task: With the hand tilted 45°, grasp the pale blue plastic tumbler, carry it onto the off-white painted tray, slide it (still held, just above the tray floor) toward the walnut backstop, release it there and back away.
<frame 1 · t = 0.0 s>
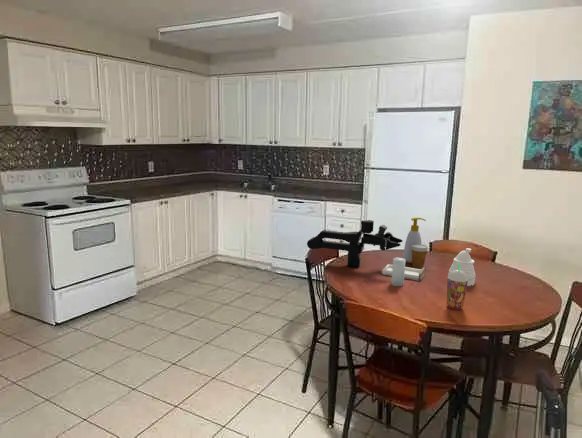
hand: (401, 242, 229), 17 cm above the table, tool horizontal, fingers open, 9 cm apart
soap bottle: (412, 261, 254), on the table
honey pot: (461, 282, 220), on the table
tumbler: (397, 284, 214), on the table
disposable coffee cup: (417, 266, 244), on the table
tray: (403, 274, 229), on the table
smoothie: (454, 308, 186), on the table
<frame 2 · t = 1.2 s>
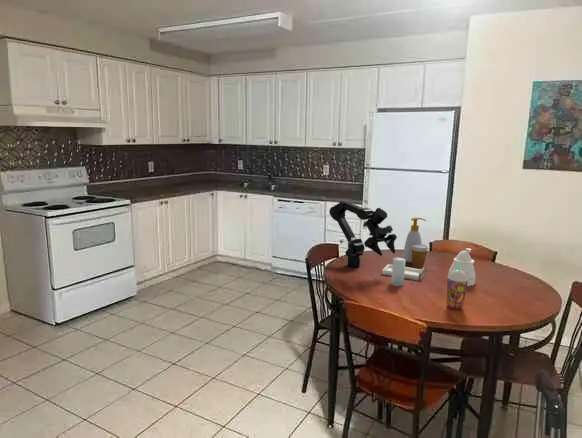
hand: (388, 254, 218), 13 cm above the table, tool tilted 45°, fingers open, 9 cm apart
nothing on the table moved.
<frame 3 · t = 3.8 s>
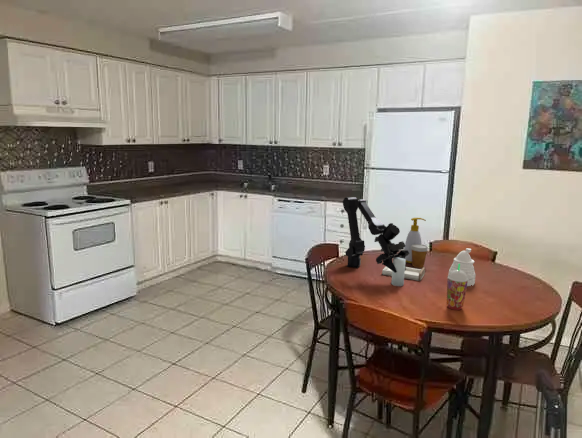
hand: (400, 271, 211), 7 cm above the table, tool tilted 45°, fingers closed on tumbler, 6 cm apart
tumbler: (397, 284, 214), on the table, touching gripper
everything else where it was.
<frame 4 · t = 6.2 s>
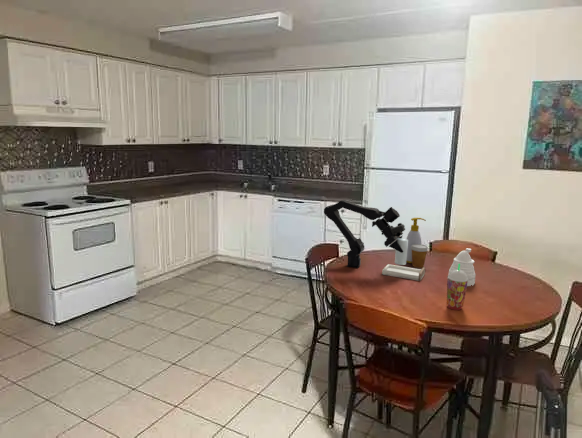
hand: (404, 250, 227), 13 cm above the table, tool tilted 45°, fingers closed on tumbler, 6 cm apart
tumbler: (400, 263, 229), point 6 cm above the table, touching gripper
everything else where it was.
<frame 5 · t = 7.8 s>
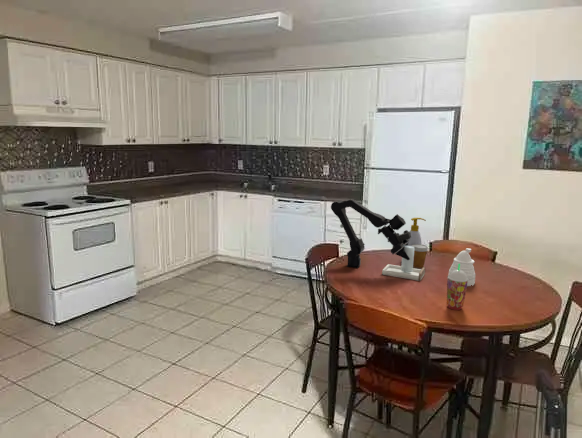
hand: (410, 258, 226), 10 cm above the table, tool tilted 45°, fingers closed on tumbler, 6 cm apart
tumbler: (406, 270, 228), point 2 cm above the table, touching gripper
everything else where it was.
when the fingers open (9 cm above the table, at t = 9.0 s): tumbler drops 1 cm, resting on tray.
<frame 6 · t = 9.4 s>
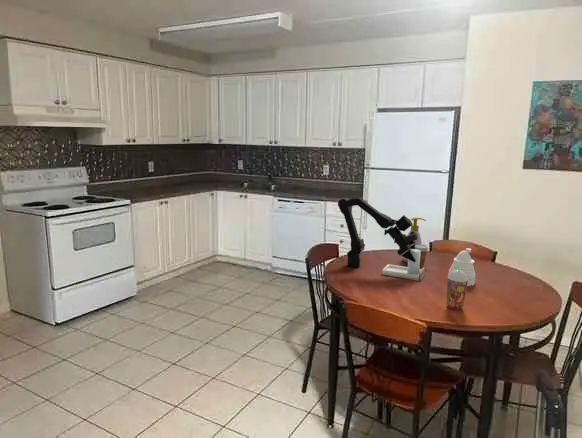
hand: (417, 259, 224), 9 cm above the table, tool tilted 45°, fingers open, 9 cm apart
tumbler: (412, 274, 227), point 1 cm above the table, touching tray
everything else where it was.
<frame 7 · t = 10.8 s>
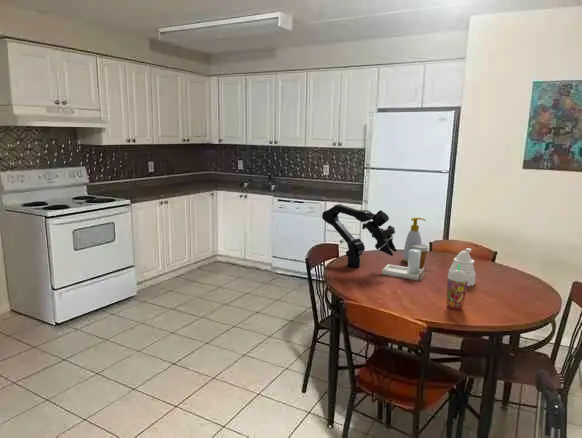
hand: (394, 253, 227), 12 cm above the table, tool tilted 45°, fingers open, 9 cm apart
nothing on the table moved.
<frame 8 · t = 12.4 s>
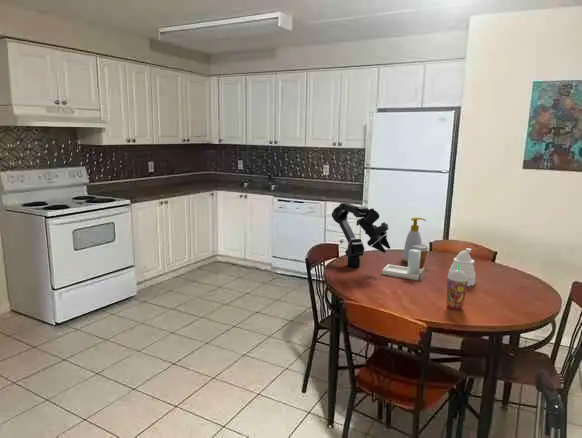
hand: (387, 250, 225), 14 cm above the table, tool tilted 45°, fingers open, 9 cm apart
nothing on the table moved.
at the end: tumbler inside the target area (0.9 cm from its centre), point 1.0 cm above the table; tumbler tilted 0°; the gripper is holding nothing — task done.
